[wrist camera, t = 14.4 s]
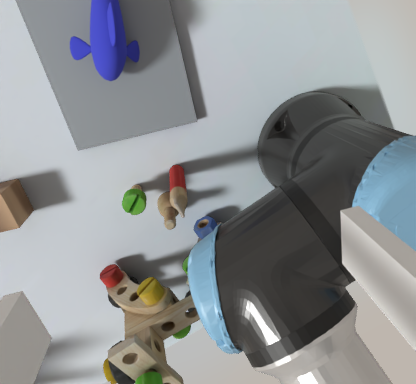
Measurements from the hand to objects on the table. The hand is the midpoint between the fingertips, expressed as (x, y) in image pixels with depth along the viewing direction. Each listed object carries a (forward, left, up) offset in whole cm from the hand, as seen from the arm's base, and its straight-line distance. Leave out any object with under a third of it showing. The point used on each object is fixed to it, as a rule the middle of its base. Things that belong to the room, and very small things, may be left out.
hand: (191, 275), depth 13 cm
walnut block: (+25, +5, -32) cm, 41 cm away
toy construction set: (+5, +19, -32) cm, 38 cm away
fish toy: (+4, -14, -31) cm, 34 cm away
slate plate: (+5, -10, -32) cm, 33 cm away
